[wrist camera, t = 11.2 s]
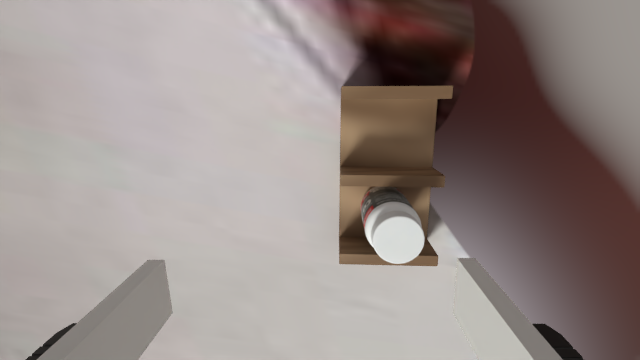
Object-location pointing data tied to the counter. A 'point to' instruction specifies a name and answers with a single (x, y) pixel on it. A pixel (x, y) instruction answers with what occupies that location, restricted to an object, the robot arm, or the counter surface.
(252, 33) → the counter surface
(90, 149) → the counter surface
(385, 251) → the pill bottle
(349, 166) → the rack
